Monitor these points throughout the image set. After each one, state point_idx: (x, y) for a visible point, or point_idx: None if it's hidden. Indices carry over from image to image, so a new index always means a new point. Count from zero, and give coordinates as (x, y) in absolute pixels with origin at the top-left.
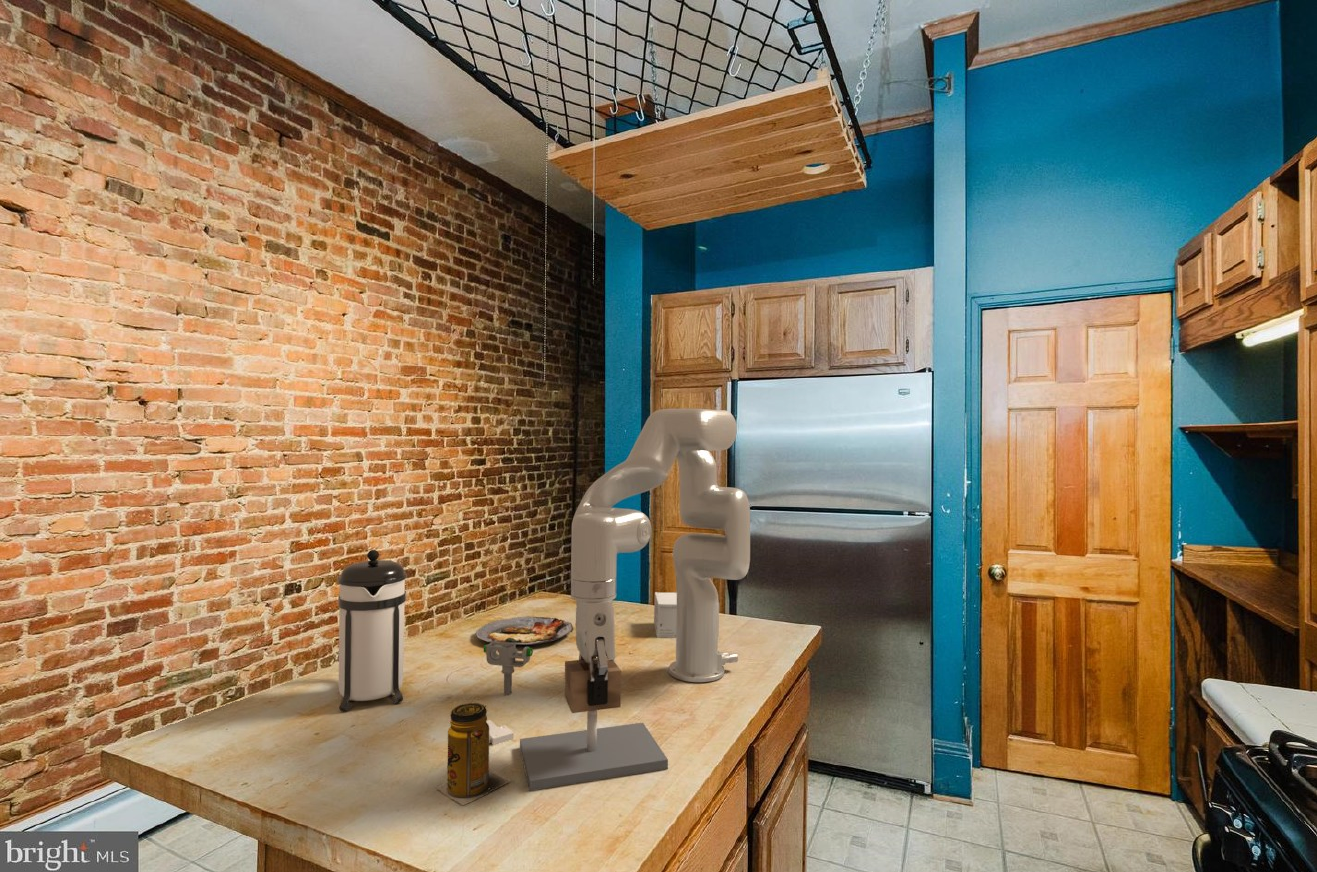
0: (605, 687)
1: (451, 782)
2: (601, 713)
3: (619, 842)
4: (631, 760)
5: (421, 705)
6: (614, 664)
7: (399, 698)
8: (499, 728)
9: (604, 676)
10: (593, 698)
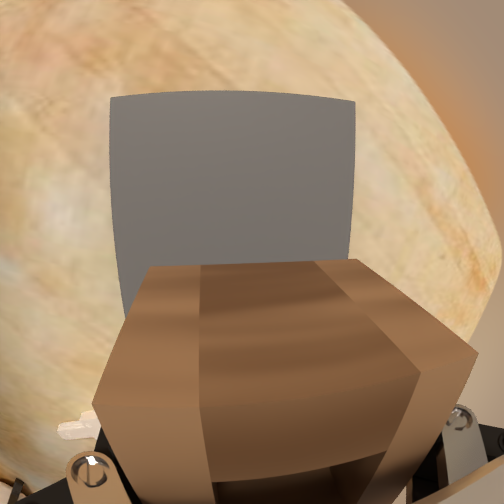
0: None
1: None
2: (2, 204)
3: (479, 271)
4: (332, 193)
5: (18, 467)
6: (348, 404)
7: (19, 485)
8: (92, 429)
9: (488, 430)
10: None
